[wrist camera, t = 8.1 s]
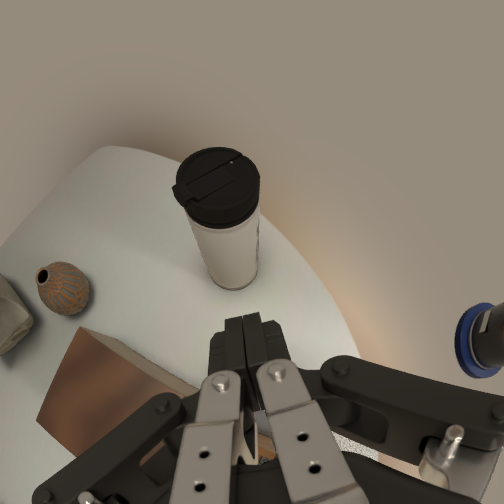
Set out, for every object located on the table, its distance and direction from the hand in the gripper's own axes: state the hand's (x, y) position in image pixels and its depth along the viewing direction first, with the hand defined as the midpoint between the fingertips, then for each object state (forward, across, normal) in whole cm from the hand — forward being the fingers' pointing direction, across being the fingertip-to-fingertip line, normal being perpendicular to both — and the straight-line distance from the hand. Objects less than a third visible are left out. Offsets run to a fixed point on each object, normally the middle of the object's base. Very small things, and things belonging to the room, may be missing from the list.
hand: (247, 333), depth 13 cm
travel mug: (+26, -2, -6) cm, 27 cm away
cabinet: (+14, -16, -18) cm, 28 cm away
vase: (+25, -24, -5) cm, 35 cm away
